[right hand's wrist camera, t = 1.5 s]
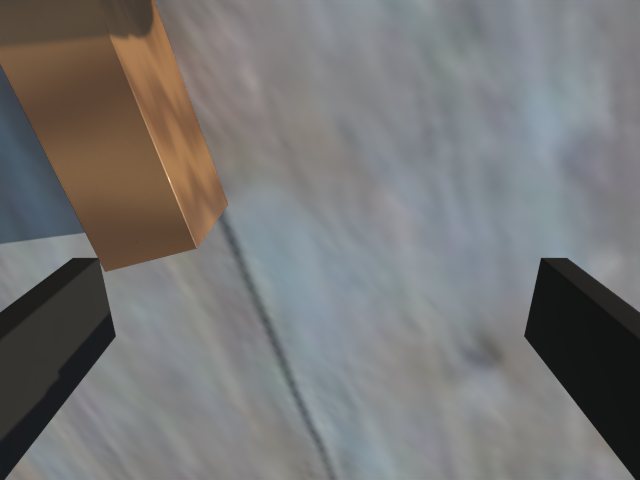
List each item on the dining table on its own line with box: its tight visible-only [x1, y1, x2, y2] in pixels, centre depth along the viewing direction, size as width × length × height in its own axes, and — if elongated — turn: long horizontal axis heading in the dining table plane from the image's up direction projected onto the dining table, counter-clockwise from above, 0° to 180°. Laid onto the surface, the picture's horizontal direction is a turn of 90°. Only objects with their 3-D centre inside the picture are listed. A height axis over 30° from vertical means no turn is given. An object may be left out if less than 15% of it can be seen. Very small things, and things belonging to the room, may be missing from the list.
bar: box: [0, 0, 228, 272], centre depth 22 cm, size 26×5×8 cm, turn 15°
